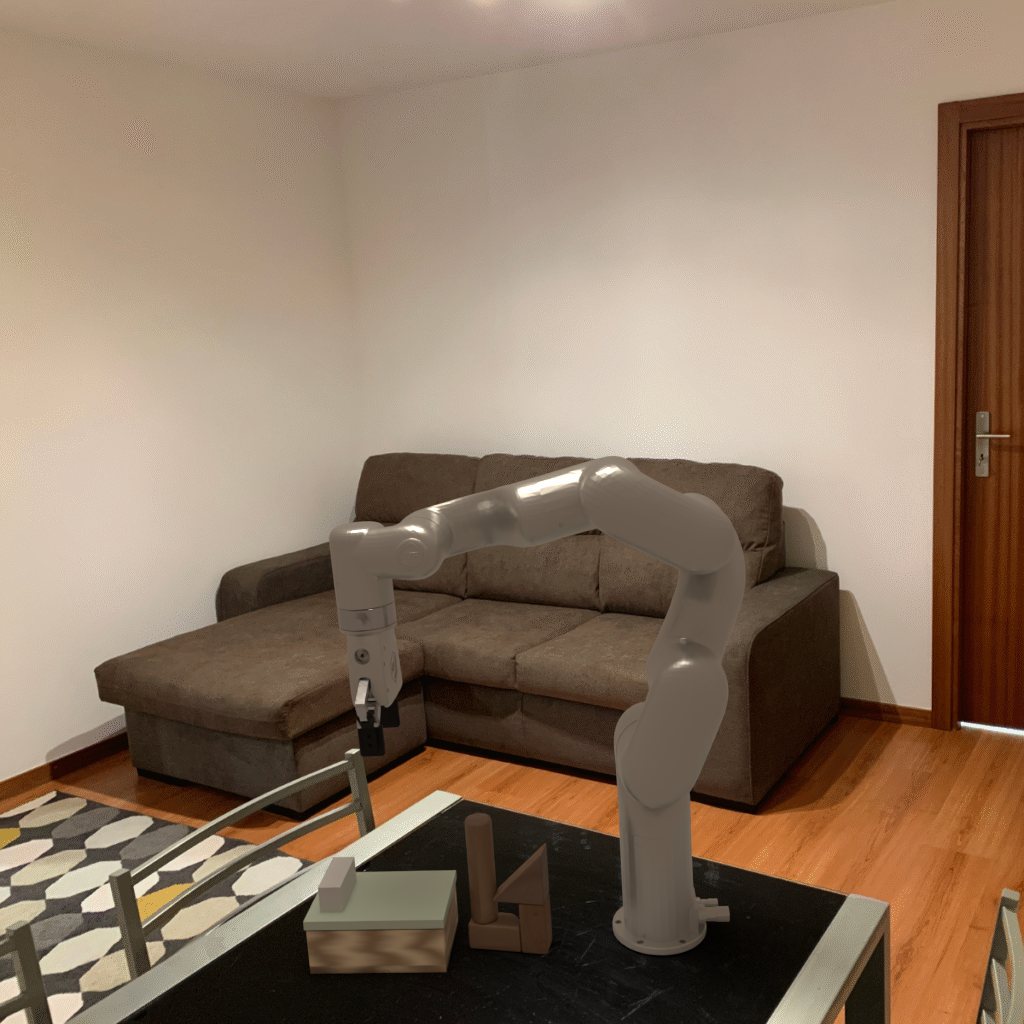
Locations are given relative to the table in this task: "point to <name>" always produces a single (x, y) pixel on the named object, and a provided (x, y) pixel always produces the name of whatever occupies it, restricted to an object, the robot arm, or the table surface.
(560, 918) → the table surface
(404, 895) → the lid
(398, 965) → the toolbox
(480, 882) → the wooden pieces
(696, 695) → the robot arm
